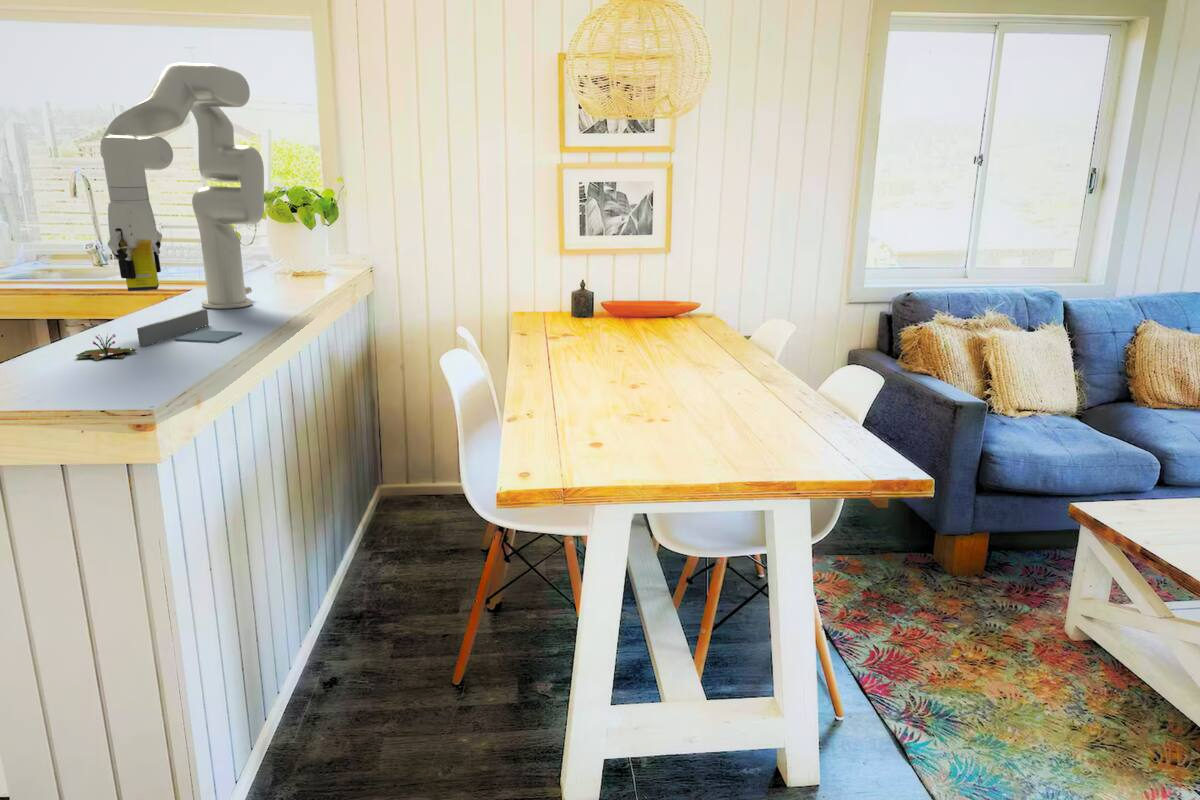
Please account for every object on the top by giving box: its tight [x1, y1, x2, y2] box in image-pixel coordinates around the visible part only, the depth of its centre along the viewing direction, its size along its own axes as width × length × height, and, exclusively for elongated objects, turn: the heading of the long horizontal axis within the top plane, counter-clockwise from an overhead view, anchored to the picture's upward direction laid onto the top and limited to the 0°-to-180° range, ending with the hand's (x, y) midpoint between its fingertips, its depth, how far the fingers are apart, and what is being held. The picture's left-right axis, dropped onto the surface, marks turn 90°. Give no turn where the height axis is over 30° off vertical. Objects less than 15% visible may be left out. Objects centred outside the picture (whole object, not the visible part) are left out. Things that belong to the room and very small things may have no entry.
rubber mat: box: [174, 329, 243, 344], centre depth 182 cm, size 10×10×1 cm
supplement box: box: [120, 240, 160, 292], centre depth 179 cm, size 6×6×11 cm
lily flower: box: [76, 333, 137, 362], centre depth 163 cm, size 12×12×5 cm
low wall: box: [136, 308, 209, 347], centre depth 182 cm, size 24×1×4 cm, turn 174°
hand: (141, 274), depth 180 cm, fingers closed on supplement box, 8 cm apart
